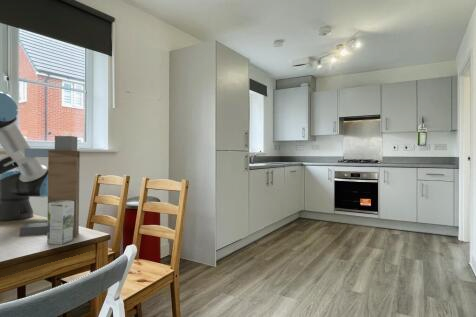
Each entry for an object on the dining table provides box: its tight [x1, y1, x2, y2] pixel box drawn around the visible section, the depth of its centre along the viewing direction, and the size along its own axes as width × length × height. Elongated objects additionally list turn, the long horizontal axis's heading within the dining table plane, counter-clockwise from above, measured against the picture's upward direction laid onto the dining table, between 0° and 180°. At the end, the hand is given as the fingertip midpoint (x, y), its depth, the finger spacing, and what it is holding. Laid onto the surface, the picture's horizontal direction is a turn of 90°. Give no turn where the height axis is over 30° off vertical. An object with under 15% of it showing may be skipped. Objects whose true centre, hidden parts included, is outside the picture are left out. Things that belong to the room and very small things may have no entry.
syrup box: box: [46, 200, 74, 245], centre depth 101 cm, size 6×6×14 cm
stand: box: [46, 150, 81, 239], centre depth 109 cm, size 8×9×32 cm
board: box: [19, 222, 48, 237], centre depth 115 cm, size 7×14×3 cm, turn 112°
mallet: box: [25, 135, 78, 158], centre depth 109 cm, size 17×4×8 cm, turn 95°
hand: (28, 153), depth 104 cm, fingers open, 13 cm apart
